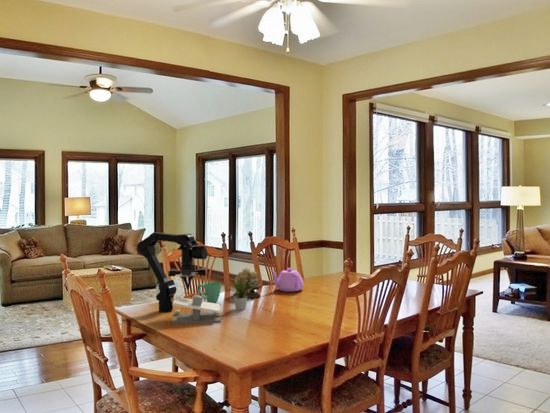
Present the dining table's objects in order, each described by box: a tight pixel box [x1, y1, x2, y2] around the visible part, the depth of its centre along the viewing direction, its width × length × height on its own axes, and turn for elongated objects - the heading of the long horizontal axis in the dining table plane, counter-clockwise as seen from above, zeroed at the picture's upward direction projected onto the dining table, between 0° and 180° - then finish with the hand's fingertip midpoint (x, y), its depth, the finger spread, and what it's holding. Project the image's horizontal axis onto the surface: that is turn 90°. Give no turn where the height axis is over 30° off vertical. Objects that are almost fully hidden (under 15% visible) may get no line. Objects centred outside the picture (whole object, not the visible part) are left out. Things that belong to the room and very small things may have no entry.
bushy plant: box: [233, 267, 262, 300], centre depth 281 cm, size 18×12×17 cm, turn 64°
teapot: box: [271, 267, 304, 293], centre depth 297 cm, size 22×22×14 cm
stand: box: [170, 309, 222, 325], centre depth 231 cm, size 23×16×6 cm
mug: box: [197, 282, 222, 304], centre depth 269 cm, size 15×10×10 cm
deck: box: [172, 294, 220, 313], centre depth 231 cm, size 22×14×5 cm, turn 97°
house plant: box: [229, 278, 254, 311], centre depth 250 cm, size 14×14×16 cm
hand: (187, 289), depth 243 cm, fingers closed
